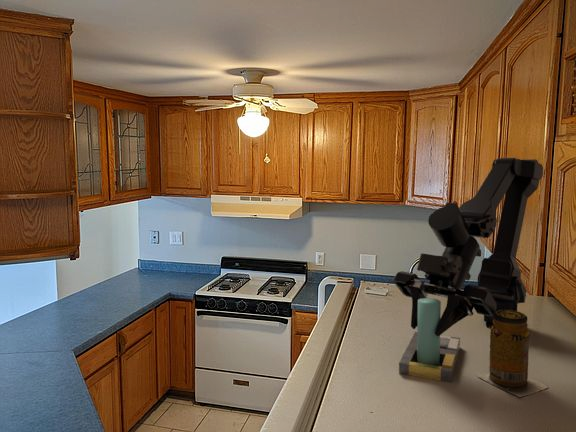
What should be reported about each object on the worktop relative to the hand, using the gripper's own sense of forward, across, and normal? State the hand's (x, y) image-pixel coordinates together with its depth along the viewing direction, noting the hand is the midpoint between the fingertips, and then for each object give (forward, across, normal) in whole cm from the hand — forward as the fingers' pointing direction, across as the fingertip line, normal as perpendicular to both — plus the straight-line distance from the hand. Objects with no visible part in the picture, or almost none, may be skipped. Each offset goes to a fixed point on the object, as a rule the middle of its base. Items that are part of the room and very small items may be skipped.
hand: (424, 331), depth 83 cm
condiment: (+1, +13, +10) cm, 17 cm away
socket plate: (+2, -2, +9) cm, 9 cm away
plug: (+4, 0, +6) cm, 8 cm away
